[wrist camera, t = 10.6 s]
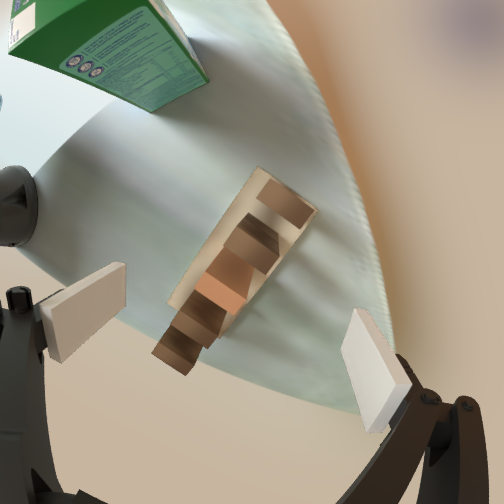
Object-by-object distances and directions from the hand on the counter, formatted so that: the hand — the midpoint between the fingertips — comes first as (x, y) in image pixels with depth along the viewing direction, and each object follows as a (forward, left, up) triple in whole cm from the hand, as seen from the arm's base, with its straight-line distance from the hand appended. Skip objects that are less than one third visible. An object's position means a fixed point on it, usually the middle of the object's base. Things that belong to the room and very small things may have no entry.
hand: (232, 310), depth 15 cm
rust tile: (0, -4, -20) cm, 20 cm away
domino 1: (0, -9, -20) cm, 22 cm away
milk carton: (-23, +12, -21) cm, 33 cm away
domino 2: (0, -13, -20) cm, 24 cm away
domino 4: (0, +6, -20) cm, 21 cm away
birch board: (0, -4, -21) cm, 21 cm away
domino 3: (0, +1, -20) cm, 20 cm away
